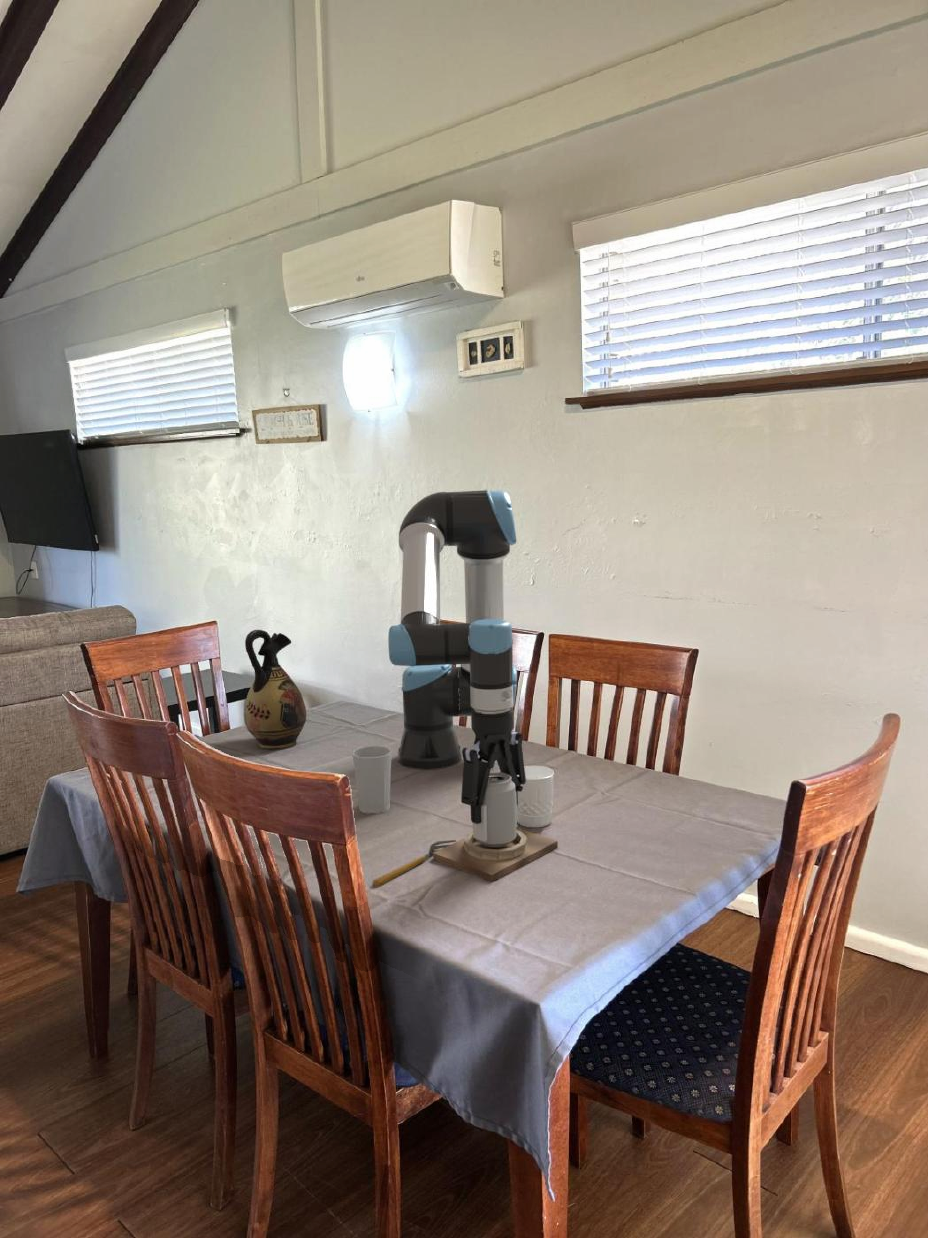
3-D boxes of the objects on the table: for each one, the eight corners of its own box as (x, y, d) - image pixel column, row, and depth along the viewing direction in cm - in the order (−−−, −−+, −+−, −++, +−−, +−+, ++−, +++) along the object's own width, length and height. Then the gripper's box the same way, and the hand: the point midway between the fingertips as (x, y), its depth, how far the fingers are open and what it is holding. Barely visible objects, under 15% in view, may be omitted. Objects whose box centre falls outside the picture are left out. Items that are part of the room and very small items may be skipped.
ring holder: (499, 828, 177) (499, 814, 177) (557, 847, 168) (557, 833, 167) (433, 859, 164) (432, 844, 164) (492, 881, 155) (491, 866, 155)
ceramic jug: (287, 731, 246) (279, 621, 241) (319, 743, 235) (312, 627, 230) (229, 746, 235) (220, 630, 230) (260, 759, 224) (252, 637, 219)
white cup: (558, 815, 183) (558, 767, 181) (549, 831, 175) (548, 780, 174) (520, 812, 185) (519, 764, 184) (509, 826, 178) (508, 777, 176)
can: (522, 835, 168) (521, 772, 166) (507, 851, 161) (505, 786, 159) (484, 829, 171) (483, 767, 169) (468, 845, 164) (466, 781, 162)
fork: (379, 881, 154) (456, 839, 169) (371, 876, 155) (449, 834, 170) (377, 894, 154) (454, 850, 169) (369, 888, 155) (447, 846, 170)
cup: (387, 816, 185) (385, 758, 183) (349, 814, 187) (346, 757, 185) (398, 801, 193) (396, 746, 191) (361, 800, 195) (359, 745, 193)
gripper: (468, 725, 152) (472, 856, 156) (545, 699, 166) (547, 819, 170) (436, 717, 157) (440, 844, 161) (513, 693, 172) (515, 810, 175)
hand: (495, 831), depth 166 cm, fingers closed on can, 7 cm apart
